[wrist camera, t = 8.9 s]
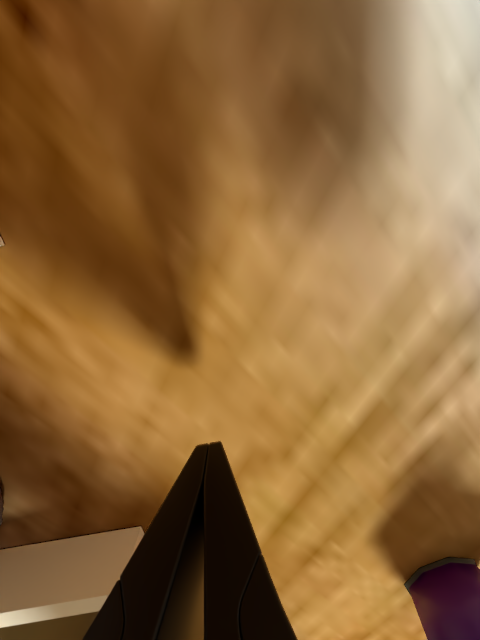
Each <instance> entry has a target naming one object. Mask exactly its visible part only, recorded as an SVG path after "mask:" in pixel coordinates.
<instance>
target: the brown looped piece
mask: <svg viewBox="0 0 480 640" xmlns="http://www.w3.org/2000/svg"><path fill="white" fill-rule="evenodd" d="M2 513H3V498H2V495H1V488H0V525H1V523H2V520H3V519H2Z"/></svg>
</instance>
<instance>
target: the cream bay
mask: <svg viewBox="0 0 480 640" xmlns="http://www.w3.org/2000/svg"><path fill="white" fill-rule="evenodd" d="M0 246H5V245H4V242H3V240H2V238H1V236H0ZM143 536H144V532H143V530H142V528H141V526H139V527H133V528H127V529H121V530H115V531H109V532H103V533H97V534H91V535H85V536H80V537H74V538H68V539H62V540H56V541H50V542H44V543H38V544H32V545H26V546H20V547H14V548H8V549H2V550H0V628H3V627H8V626H14V625H20V624H26V623H32V622H38V621H44V620H50V619H55V618H61V617H67V616H73V615H79V614H85V613H91V612H97V611H100V609H101V607H102V606H103V604H104V602H105V601H106V599H107V597H108V596H109V594H110V592H111V590H112V589H113V587H114V585H115V584H116V582H117V581H118V580H120V575H121V574H122V572H123V570H124V568H125V567H126V565H127V563H128V562H129V560H130V558H131V557H132V555H133V553H134V551H135V550H136V548H137V546H138V545H139V543H140V541H141V539H142V538H143Z"/></svg>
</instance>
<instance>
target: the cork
mask: <svg viewBox="0 0 480 640" xmlns="http://www.w3.org/2000/svg"><path fill="white" fill-rule="evenodd" d="M98 612H99V611H97V612H91V613H85V614H79V615H73V616H67V617H61V618H55V619H50V620H44V621H38V622H32V623H26V624H20V625H14V626H8V627H3V628H0V640H82V639H83V637H84V635H85V634H86V632H87V630H88V629H89V627H90V625H91V624H92V622H93V621H94V619H95V617H96V616H97V614H98Z"/></svg>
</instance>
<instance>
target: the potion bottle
mask: <svg viewBox="0 0 480 640" xmlns="http://www.w3.org/2000/svg"><path fill="white" fill-rule="evenodd" d="M405 587H406V588H407V590H408V592H409V593H410V595H411V596H412V599H413V601H414V604H415V607H416V609H417V612H418V615H419V618H420V620H421V623H422V626H423V628H424V631H425V634H426V636H427V639H428V640H480V569H479V568H478V567H477V566H476V563H475V560H474V559H465V558H453V557H448V558H445V559H442V560H440V561H437V562H434V563H432V564H429V565H426V566H424V567H421V568H419V569H418V570H417V571H416V572H415V573H414V575H413V576H412V577H411V578H410V579H409V580H408V581H407V582H406V584H405Z"/></svg>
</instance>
